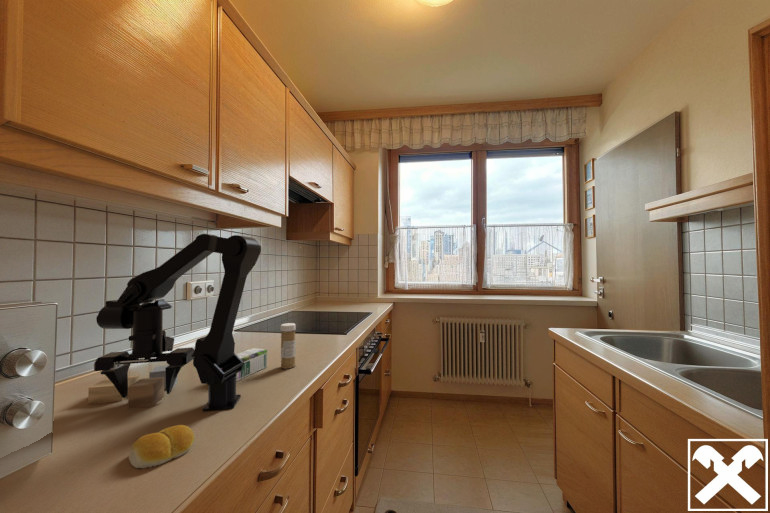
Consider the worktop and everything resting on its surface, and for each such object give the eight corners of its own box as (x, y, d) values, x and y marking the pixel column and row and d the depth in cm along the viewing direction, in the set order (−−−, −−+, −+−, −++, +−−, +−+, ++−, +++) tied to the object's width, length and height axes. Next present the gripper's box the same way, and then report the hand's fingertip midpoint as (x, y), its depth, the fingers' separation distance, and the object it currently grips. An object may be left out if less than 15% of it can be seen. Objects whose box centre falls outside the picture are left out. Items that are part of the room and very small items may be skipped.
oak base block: (122, 401, 74) (122, 385, 74) (88, 404, 72) (88, 387, 73) (139, 390, 81) (139, 375, 81) (108, 392, 79) (108, 377, 79)
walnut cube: (153, 406, 71) (153, 384, 71) (128, 408, 70) (128, 386, 70) (164, 397, 76) (164, 377, 76) (141, 399, 75) (141, 378, 75)
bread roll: (202, 448, 54) (202, 425, 54) (140, 477, 47) (140, 450, 47) (182, 433, 59) (182, 412, 59) (123, 458, 52) (123, 433, 52)
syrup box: (267, 367, 97) (231, 384, 83) (252, 365, 99) (214, 382, 85) (267, 349, 97) (231, 363, 83) (252, 347, 99) (214, 361, 85)
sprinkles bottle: (282, 364, 99) (282, 322, 100) (297, 364, 100) (296, 322, 100) (279, 369, 95) (279, 325, 95) (294, 368, 95) (294, 325, 95)
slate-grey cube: (172, 389, 81) (172, 369, 81) (149, 392, 79) (149, 372, 79) (177, 382, 85) (177, 364, 86) (155, 385, 84) (155, 366, 84)
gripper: (203, 321, 83) (203, 379, 82) (124, 324, 79) (123, 385, 79) (185, 329, 72) (185, 396, 71) (92, 333, 68) (91, 405, 68)
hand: (147, 395), depth 73 cm, fingers open, 9 cm apart
